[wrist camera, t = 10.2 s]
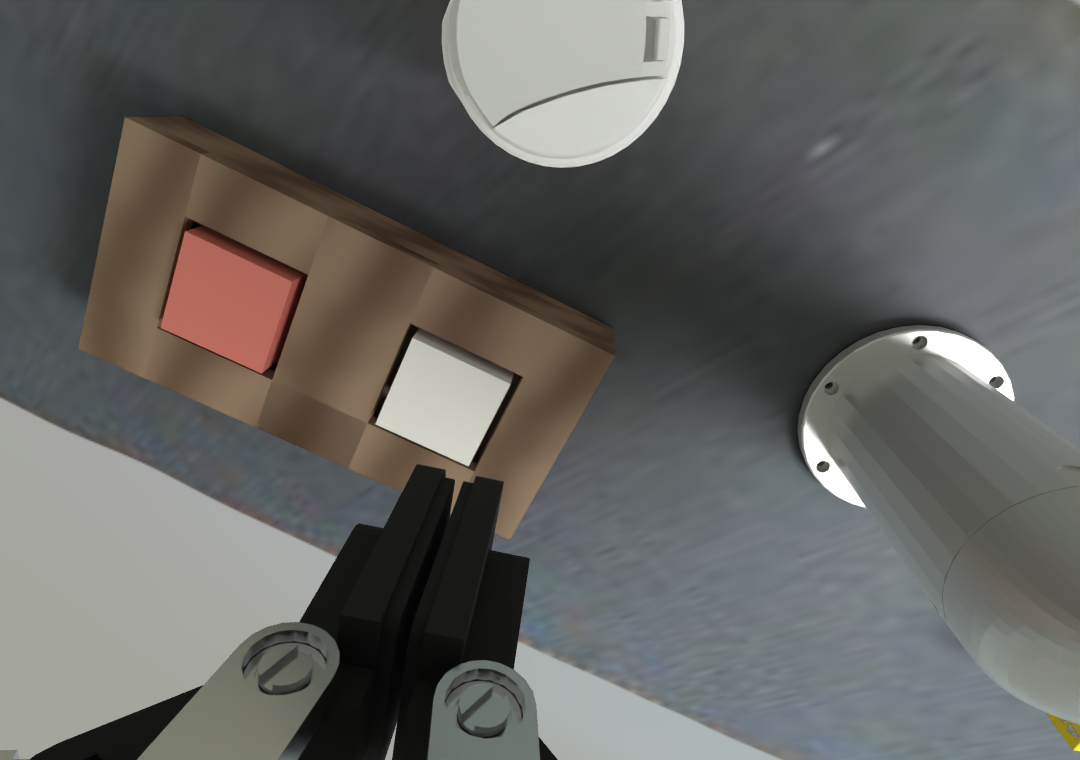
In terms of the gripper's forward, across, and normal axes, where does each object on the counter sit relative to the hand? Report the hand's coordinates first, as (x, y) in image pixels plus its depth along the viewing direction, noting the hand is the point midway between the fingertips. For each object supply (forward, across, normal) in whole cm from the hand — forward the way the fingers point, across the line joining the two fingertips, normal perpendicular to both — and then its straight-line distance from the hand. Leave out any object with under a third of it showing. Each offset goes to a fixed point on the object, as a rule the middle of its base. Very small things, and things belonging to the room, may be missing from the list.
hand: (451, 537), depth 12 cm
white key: (+26, +4, +9) cm, 28 cm away
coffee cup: (+29, +1, -10) cm, 31 cm away
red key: (+26, +17, +6) cm, 31 cm away
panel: (+29, +11, +7) cm, 31 cm away
